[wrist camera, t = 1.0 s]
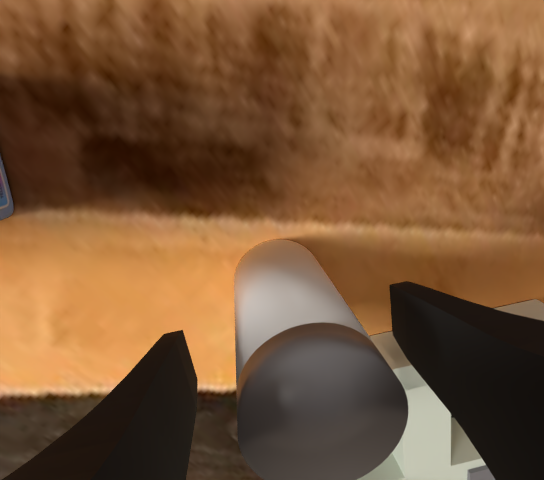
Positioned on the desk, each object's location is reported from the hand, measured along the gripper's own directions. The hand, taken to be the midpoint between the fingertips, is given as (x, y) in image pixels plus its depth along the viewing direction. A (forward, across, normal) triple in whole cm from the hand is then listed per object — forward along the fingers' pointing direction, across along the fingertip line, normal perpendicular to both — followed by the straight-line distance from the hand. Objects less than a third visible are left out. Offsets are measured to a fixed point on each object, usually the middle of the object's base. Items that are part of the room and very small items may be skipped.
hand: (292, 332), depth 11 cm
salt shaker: (+4, 0, 0) cm, 4 cm away
